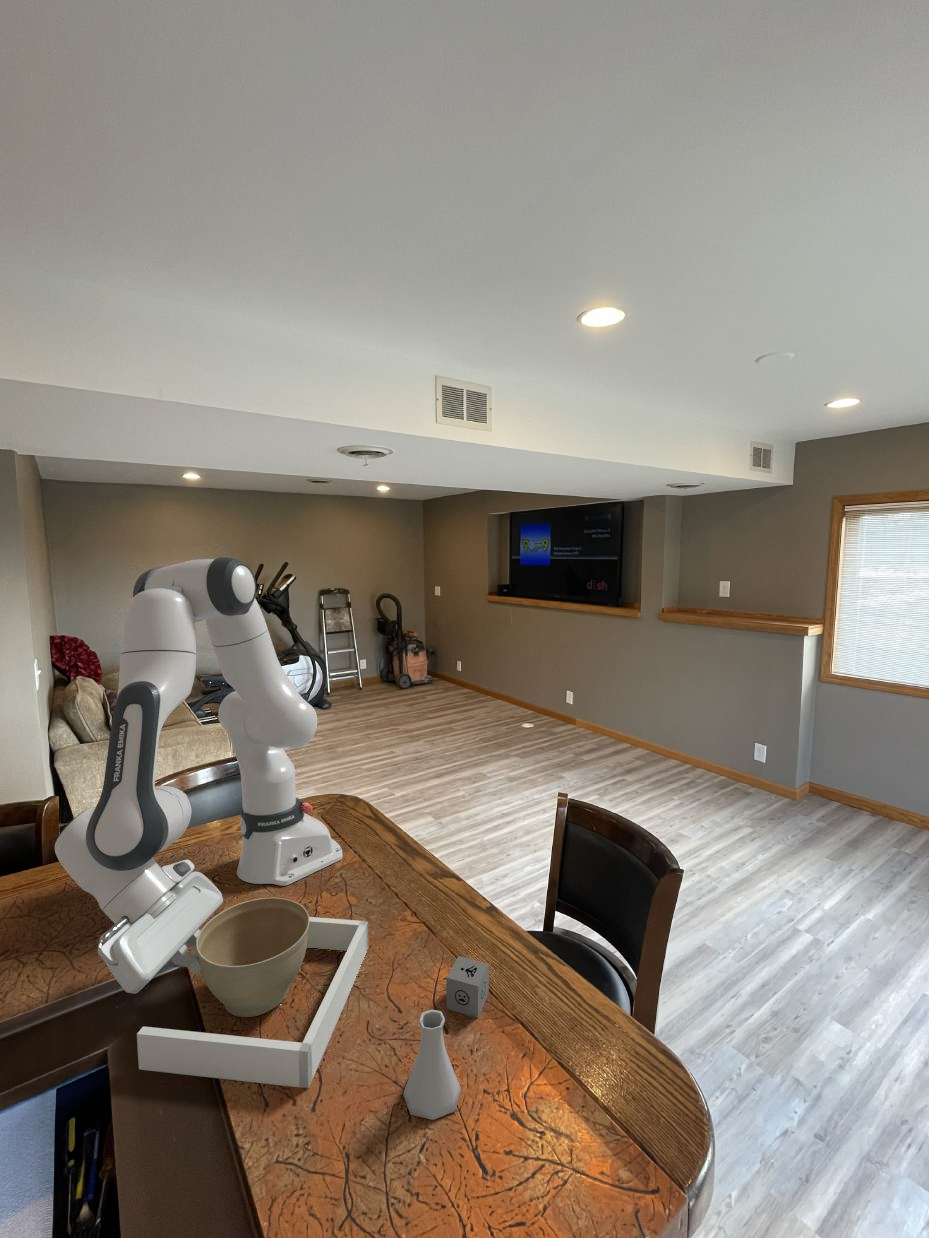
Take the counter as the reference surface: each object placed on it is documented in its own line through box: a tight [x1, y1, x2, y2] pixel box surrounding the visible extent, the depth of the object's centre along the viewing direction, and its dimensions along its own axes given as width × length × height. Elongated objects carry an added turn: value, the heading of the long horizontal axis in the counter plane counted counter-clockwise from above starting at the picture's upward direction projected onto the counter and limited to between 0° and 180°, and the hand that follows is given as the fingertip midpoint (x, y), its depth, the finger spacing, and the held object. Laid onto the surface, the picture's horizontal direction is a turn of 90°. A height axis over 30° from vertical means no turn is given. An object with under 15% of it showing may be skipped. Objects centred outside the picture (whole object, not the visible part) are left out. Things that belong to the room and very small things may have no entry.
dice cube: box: [445, 955, 490, 1019], centre depth 85 cm, size 5×5×5 cm
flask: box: [403, 1009, 462, 1121], centre depth 70 cm, size 7×7×10 cm
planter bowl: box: [196, 897, 310, 1018], centre depth 86 cm, size 16×16×11 cm
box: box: [136, 916, 370, 1089], centre depth 85 cm, size 23×26×5 cm
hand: (205, 965), depth 86 cm, fingers closed
